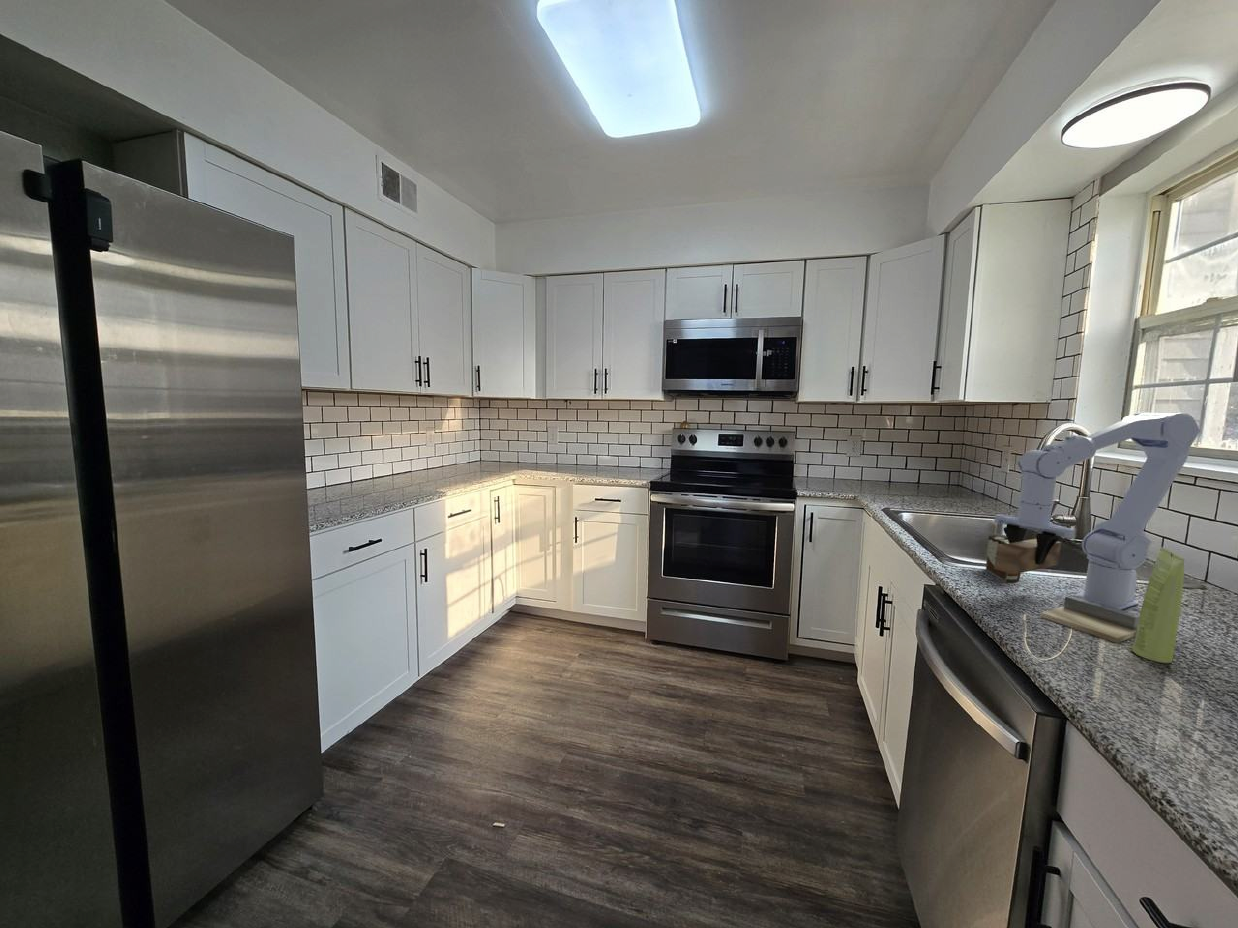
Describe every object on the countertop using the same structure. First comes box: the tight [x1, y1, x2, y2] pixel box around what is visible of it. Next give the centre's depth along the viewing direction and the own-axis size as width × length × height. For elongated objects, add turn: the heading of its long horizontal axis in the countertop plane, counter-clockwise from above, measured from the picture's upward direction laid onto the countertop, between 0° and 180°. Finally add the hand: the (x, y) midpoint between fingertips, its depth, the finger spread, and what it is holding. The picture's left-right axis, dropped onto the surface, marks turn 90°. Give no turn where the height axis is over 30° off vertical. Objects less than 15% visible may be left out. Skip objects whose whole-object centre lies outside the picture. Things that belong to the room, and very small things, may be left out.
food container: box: [985, 533, 1025, 583], centre depth 126 cm, size 12×6×10 cm, turn 168°
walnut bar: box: [994, 538, 1062, 575], centre depth 112 cm, size 18×4×6 cm, turn 115°
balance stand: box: [1040, 594, 1140, 644], centre depth 101 cm, size 18×12×4 cm, turn 115°
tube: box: [1131, 546, 1185, 664], centre depth 85 cm, size 6×5×20 cm
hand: (1027, 560), depth 112 cm, fingers closed on walnut bar, 4 cm apart
